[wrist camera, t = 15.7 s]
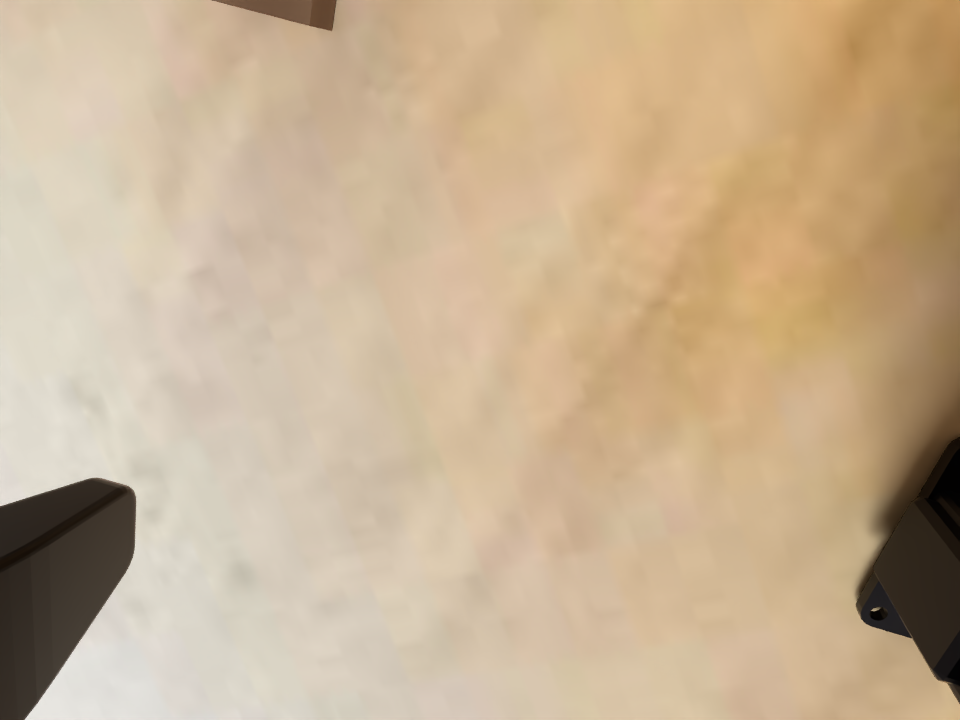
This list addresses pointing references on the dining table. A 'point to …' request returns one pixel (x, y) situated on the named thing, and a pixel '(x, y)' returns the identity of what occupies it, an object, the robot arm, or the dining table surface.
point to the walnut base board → (292, 10)
